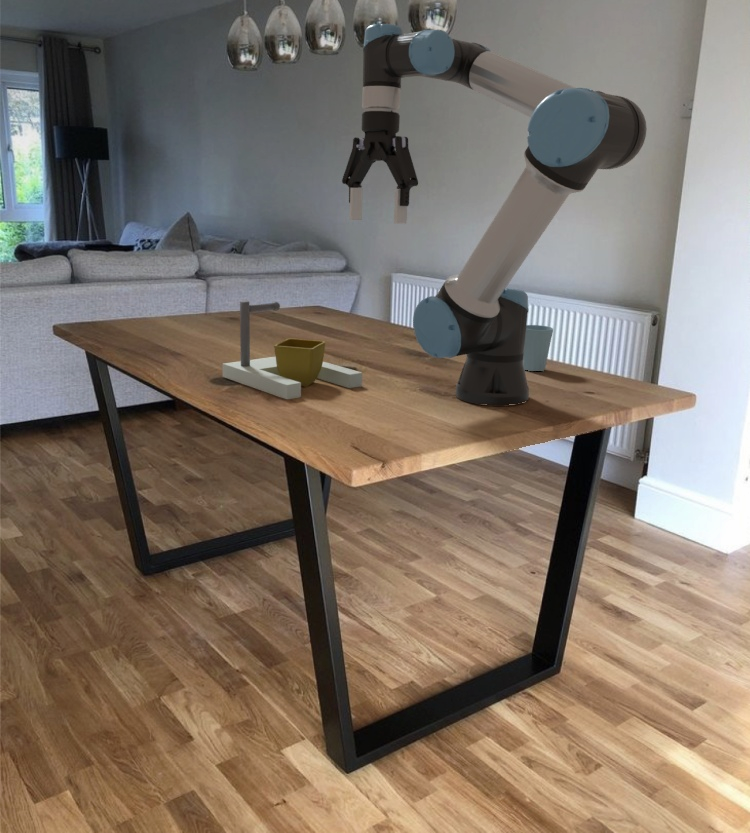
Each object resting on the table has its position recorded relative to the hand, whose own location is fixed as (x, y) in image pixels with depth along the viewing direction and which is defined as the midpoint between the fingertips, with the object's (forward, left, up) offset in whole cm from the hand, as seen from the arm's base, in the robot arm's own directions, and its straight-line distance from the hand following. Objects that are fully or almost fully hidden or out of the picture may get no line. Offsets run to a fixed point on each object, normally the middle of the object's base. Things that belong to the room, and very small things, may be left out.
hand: (377, 221), depth 165 cm
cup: (-10, -44, -35) cm, 57 cm away
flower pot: (+10, +12, -35) cm, 38 cm away
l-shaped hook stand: (+13, +12, -35) cm, 39 cm away
